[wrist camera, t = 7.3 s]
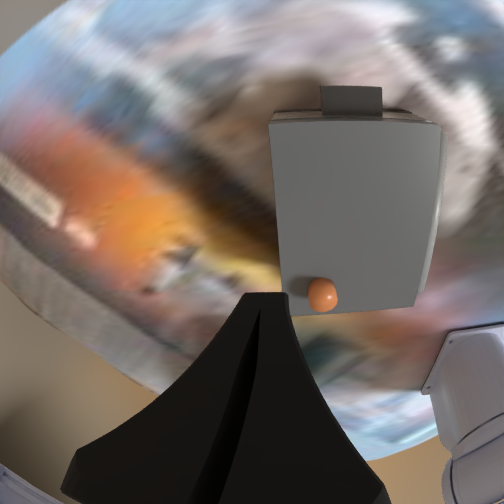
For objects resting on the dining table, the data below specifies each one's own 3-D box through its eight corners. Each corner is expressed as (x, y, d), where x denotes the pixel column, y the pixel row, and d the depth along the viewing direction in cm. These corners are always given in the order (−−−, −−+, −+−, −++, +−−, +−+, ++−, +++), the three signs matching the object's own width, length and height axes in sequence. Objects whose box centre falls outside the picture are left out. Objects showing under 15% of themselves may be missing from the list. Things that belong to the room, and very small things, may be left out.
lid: (419, 290, 17) (432, 316, 15) (283, 300, 18) (283, 329, 16) (443, 121, 12) (468, 131, 10) (268, 120, 13) (267, 127, 11)
